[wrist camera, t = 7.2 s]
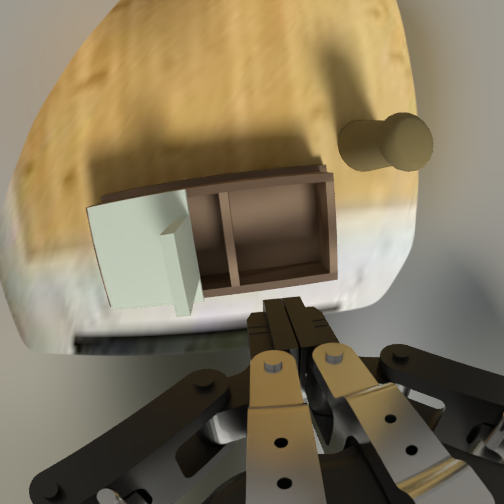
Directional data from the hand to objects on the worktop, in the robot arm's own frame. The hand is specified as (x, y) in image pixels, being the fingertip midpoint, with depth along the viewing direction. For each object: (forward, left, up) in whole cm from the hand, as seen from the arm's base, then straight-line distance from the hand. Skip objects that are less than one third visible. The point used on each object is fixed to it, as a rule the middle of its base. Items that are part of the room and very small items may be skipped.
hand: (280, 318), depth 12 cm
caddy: (+1, -4, -21) cm, 21 cm away
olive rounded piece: (-7, +14, -21) cm, 26 cm away
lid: (+1, -10, -15) cm, 19 cm away
